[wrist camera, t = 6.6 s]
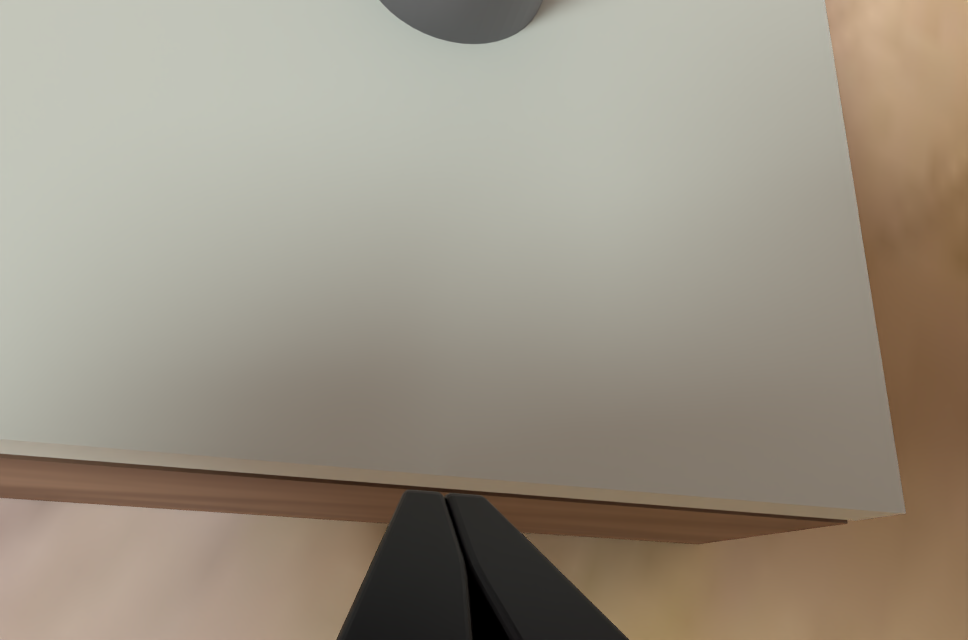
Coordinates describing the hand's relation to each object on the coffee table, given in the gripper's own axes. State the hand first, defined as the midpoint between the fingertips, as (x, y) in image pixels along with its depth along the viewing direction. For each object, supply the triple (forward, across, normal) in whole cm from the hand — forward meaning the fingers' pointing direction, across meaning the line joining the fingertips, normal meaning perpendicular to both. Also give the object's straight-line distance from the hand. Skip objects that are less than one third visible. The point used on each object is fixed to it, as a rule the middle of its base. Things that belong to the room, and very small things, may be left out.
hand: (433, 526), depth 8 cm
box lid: (+7, 0, -4) cm, 8 cm away
